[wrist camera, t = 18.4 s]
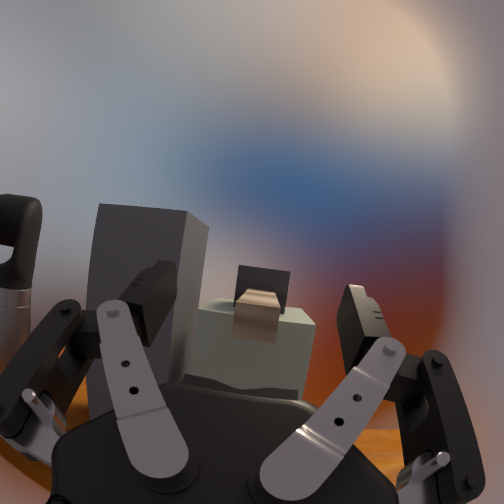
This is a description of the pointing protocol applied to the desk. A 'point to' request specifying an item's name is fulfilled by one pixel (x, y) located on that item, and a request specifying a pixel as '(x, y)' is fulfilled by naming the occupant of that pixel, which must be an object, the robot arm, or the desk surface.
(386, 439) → the desk surface
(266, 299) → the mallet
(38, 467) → the desk surface
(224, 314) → the stand
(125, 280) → the stand
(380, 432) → the desk surface
